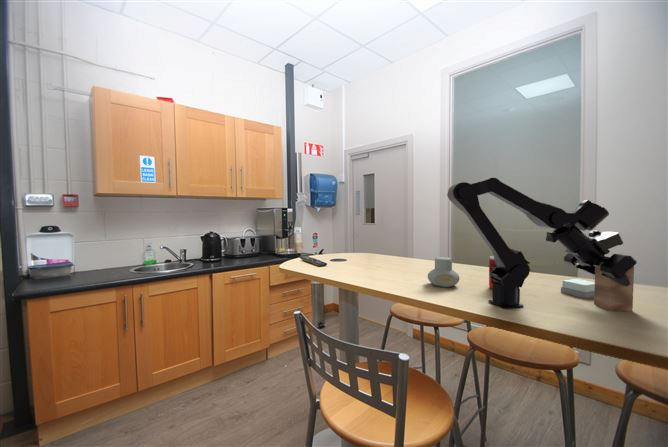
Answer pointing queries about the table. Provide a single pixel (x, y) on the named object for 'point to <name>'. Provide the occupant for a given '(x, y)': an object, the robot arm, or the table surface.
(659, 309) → the table surface
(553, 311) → the table surface
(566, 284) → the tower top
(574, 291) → the tower base
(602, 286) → the walnut post
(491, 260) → the canned food
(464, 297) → the table surface
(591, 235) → the robot arm
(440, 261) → the air freshener
